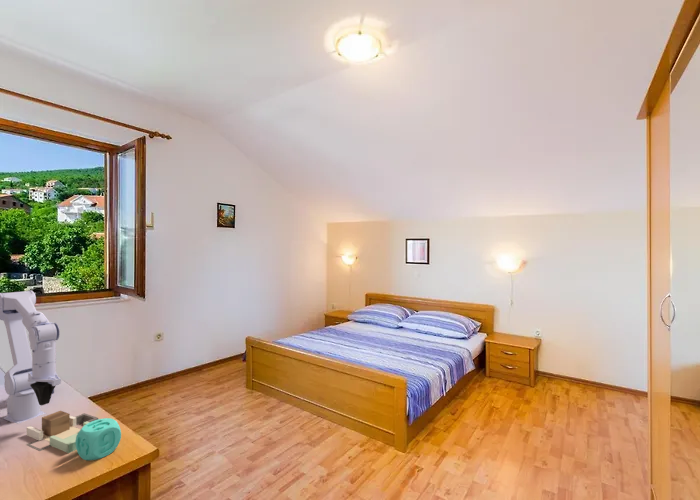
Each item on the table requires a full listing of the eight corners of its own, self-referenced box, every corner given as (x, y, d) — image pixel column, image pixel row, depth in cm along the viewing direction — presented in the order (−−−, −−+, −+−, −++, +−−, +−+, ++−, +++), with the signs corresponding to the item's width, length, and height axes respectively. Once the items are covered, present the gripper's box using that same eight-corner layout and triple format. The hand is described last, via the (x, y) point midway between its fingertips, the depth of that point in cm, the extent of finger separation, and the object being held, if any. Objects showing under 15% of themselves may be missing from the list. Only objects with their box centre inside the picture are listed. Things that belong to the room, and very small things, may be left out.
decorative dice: (105, 441, 105) (105, 415, 105) (121, 448, 102) (121, 421, 102) (75, 456, 98) (75, 428, 98) (91, 464, 95) (91, 435, 95)
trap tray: (14, 441, 104) (14, 431, 104) (73, 418, 119) (73, 409, 119) (57, 460, 96) (57, 450, 96) (115, 432, 110) (115, 423, 110)
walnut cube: (41, 433, 108) (41, 417, 108) (60, 425, 113) (60, 410, 113) (50, 437, 106) (50, 420, 106) (69, 429, 111) (69, 413, 111)
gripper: (16, 362, 111) (16, 404, 111) (41, 369, 105) (41, 413, 105) (43, 356, 117) (43, 396, 118) (68, 362, 112) (68, 404, 112)
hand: (44, 403), depth 112 cm, fingers closed
